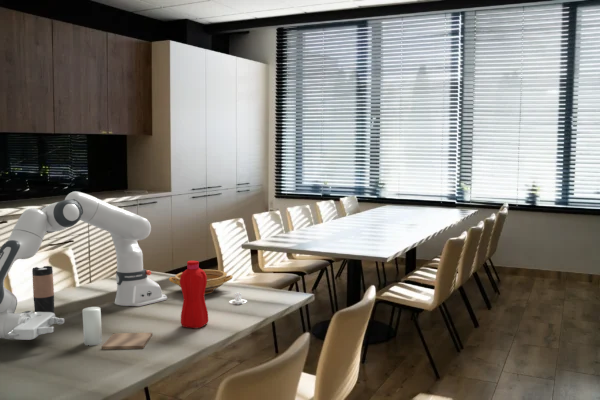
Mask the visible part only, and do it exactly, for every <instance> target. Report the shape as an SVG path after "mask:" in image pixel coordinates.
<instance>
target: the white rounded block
mask: <svg viewBox="0 0 600 400" xmlns="http://www.w3.org/2000/svg"><path fill="white" fill-rule="evenodd" d="M101 309H102V308H101V307H99V306H88V307H85V308H83V309H81V310H82V326H83V327H82V328H83V329H82V331H83V332H82V333H83V345H84V344H85V345H84V346H88V345H89V346H90V347H91V346H98V345H100V344H102V343H103V337H102V336H103V334H102V333H103V332H102V331H103V330H102V312H101V311H102V310H101Z"/></svg>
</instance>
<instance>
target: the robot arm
mask: <svg viewBox="0 0 600 400" xmlns="http://www.w3.org/2000/svg"><path fill="white" fill-rule="evenodd" d="M80 221H81V222H83V223H86V224H88V225H91V226H93V227H96V228H98V229H100V230H102V231H103V230H104V231H106V232H108V233H109V234H110V236H111V239H112V243H113V245H114V249H115V256H116V257H115V258H116V273H115V281H116V293H115V294H116V295H115V300H114V304H115V305H117V306H122V307H123V306H127V307H129V306H132V307H141V306H146V305H150V304H154V303H159V302H162V301H167V300H168V295H166V294H165V293H162V288H161V286H160V285H159V283H158V282H156V281H155V280H153V279H151V278H150V277H148V276H151V275H152V271H151V270H147V269H145V268H144V254H143V250H142V248H141V247H140V244H139V243H138V241H143V240H145V239H147V238H148V237H149V236H150V234H151V231H152V226H151V223H150V221H149V220H148V218H145V217H144V216H141V215H138V214H137V213H134V212H132V211H129V210H126V209H123V208H121V207H118V206H117V205H113V204H110V203H109V202H107V201H104V200H102V199H100V198H98V197H96V196H93V195H91V194H88V193H85V192H81V191H76V190H75V191H72V192H70V193H68V194H67V195H66V196H65V198H64V200H61V201H56V202H53V203H51V204H49V205H47V206H44V207H42V208H40V209H38V208H28V209H25V210H24V211H23V212H22V213H21V214H20V216H19V218H18V219H17V221H16V223H15V225H14V227H13V229H12V231H11V234H10V235H9V238H8V239H7V240H6V241H5V242H4V243H3V244H2V246H1V247H0V339H5V340H23V341H24V340H26V341H28V340H29V341H30V340H34V339H36V338H37V337H38V336H39V335H44V334H45V335H46V334H50V333H54V331H55V327H54V326H53V325H54V324H57V325H63V324H64V323H65V318H62V317H60V318H59V317H57V316H56V314H55V312H54V313H52V312H35V311H33V310H26V311H23V312H16V309H17V306H18V299H17V296H16V295H15V294H14V293H13V292H12V291H11V290H9V289H8V288H6V287H5V279H6V278H7V276H8V274H9V272H10V270H11V268H12V266H13V264H14V263H15V262H16V261H17V260H28V259H30V258H32V257H34V256H35V255H36V254H37V253H38V251H39V249H41V248H40V247H41V245H42V243H43V240H44V238H45V234H46V233H47V234H48V233H51V234H52V233H55V232H61V231H64V230H65V229H67V228H70V227H71V228H72V227H73V226H75V225H76V224H78V222H80Z"/></svg>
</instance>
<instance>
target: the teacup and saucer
mask: <svg viewBox="0 0 600 400" xmlns="http://www.w3.org/2000/svg"><path fill="white" fill-rule="evenodd" d="M233 296H234V299H231V300H229V301H228V303H229V304H233V305H243V304H246V303H247V302H248V300H247V299H243V298H242V292H235V293H234V294H233Z"/></svg>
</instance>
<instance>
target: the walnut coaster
mask: <svg viewBox="0 0 600 400" xmlns="http://www.w3.org/2000/svg"><path fill="white" fill-rule="evenodd" d="M152 337H153V332H123V333H122V332H121V333H118V332H117V333H115V332H114V333H113V334H111V336H109V338H108V339H107V340H106V341H105V342H104V343H103V345H101V350H133V349H134V350H135V349H136V350H139V349H141V350H142V349H144V348H145V346H146V345H147V344H148V342H149V341H150V339H151V338H152Z"/></svg>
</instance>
